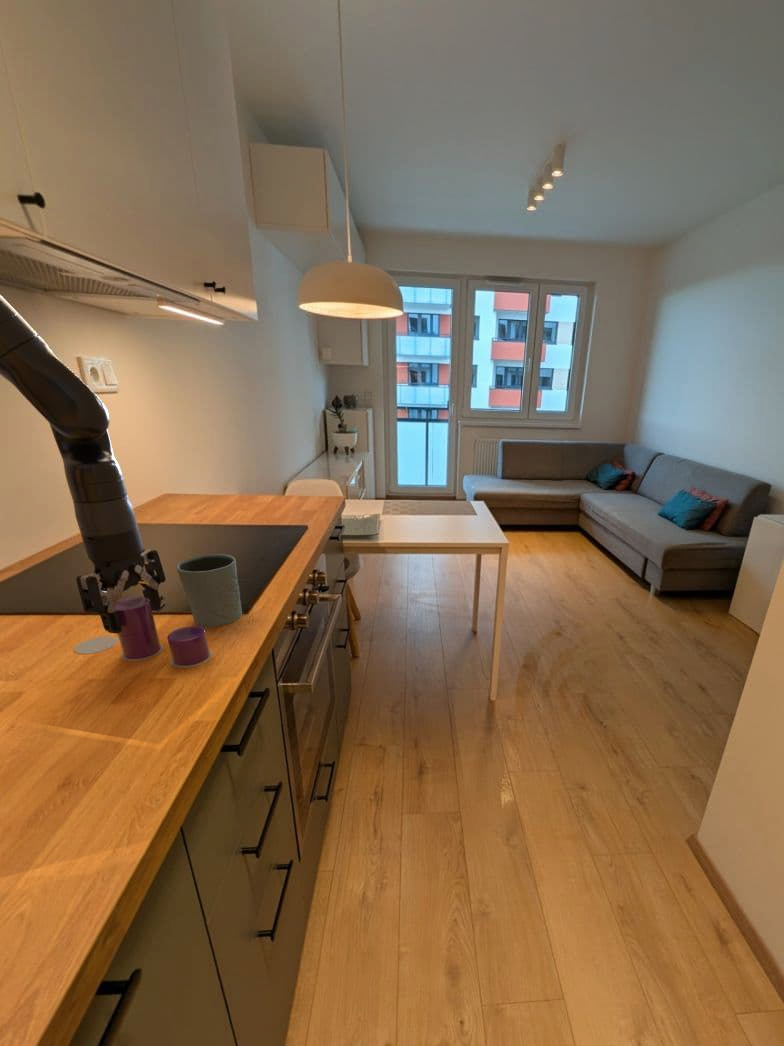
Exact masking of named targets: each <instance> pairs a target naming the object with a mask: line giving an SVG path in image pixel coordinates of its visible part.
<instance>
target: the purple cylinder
mask: <svg viewBox="0 0 784 1046" xmlns="http://www.w3.org/2000/svg"><path fill="white" fill-rule="evenodd" d="M115 611H117V614H118V618H119V621H120V624H121V628H122V631H121V632H120V633H118V634H121V635H135V634H140V633H143V632H146V631H148V630H150V629H152V628H153V627H154V626H155V625H156V620H155V617H154V613H153V611H152V609H151V605H150V601H149V599H148V598H146V597H144V596H130V597H125V598H120V599H118V600H117V604H116V607H115ZM118 634H117V635H118Z"/></svg>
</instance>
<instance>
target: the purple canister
mask: <svg viewBox="0 0 784 1046" xmlns="http://www.w3.org/2000/svg"><path fill="white" fill-rule="evenodd" d="M166 638H167V643H168V646H169V649H170V650H169V651H170V655H171V658H172V659H173V662H174V663H175V664H176V665H180V666H189V665H194V664H197V663H200V662H202V661H204V660H206V659H207V658H208V657H209V655H210V652H209V650H210V648H209V644H208V643H209V642H208V638H207V634H206V629H205V627H203V626H199V625H190V626H182V627H180V628H177V629H174V630H172V631H171V632H169V633H168V635H167V637H166Z"/></svg>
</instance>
